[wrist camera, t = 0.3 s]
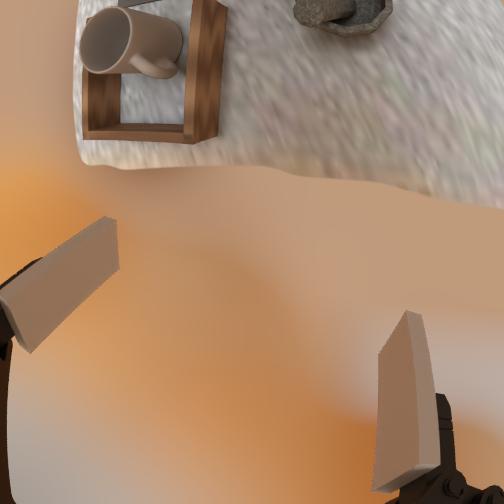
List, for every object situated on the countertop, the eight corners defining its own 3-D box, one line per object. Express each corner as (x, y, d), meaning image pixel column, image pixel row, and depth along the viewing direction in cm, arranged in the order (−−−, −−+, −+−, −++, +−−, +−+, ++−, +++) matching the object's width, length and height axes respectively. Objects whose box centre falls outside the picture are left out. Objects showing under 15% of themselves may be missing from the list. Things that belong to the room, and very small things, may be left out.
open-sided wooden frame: (118, 23, 32) (86, 18, 26) (227, 7, 29) (203, -8, 23) (114, 131, 41) (83, 139, 35) (217, 135, 38) (192, 144, 32)
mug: (122, 54, 35) (68, 52, 26) (156, 8, 30) (104, -6, 21) (173, 100, 37) (121, 106, 27) (213, 53, 32) (167, 42, 23)
